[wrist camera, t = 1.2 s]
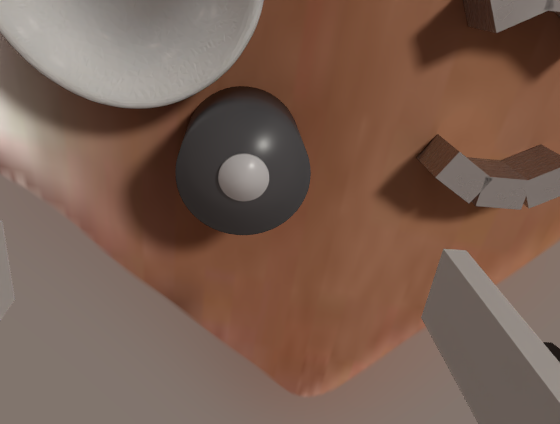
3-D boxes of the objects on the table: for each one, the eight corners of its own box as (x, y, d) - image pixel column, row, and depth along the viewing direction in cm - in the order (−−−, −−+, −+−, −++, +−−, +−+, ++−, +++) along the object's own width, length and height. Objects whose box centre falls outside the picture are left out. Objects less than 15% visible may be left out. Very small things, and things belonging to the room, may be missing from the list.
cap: (188, 79, 25) (176, 104, 20) (306, 93, 26) (321, 119, 21) (184, 188, 28) (173, 232, 23) (290, 197, 28) (300, 241, 24)
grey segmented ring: (470, -42, 23) (500, -43, 20) (621, -19, 24) (669, -18, 21) (410, 180, 28) (428, 202, 26) (536, 191, 29) (566, 213, 27)
